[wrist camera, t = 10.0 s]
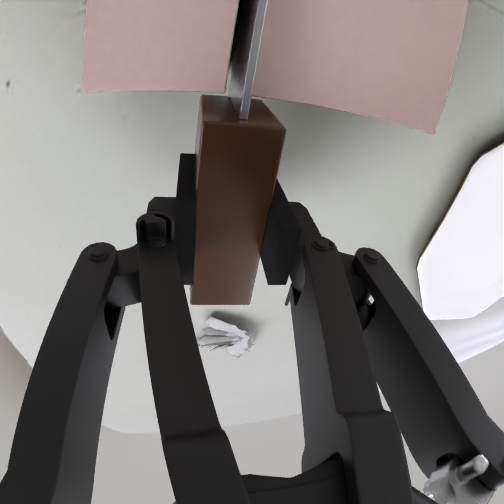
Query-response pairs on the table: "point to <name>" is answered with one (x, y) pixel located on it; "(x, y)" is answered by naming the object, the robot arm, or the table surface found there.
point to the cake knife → (234, 176)
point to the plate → (467, 246)
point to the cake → (362, 56)
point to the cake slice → (158, 45)
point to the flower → (226, 337)
